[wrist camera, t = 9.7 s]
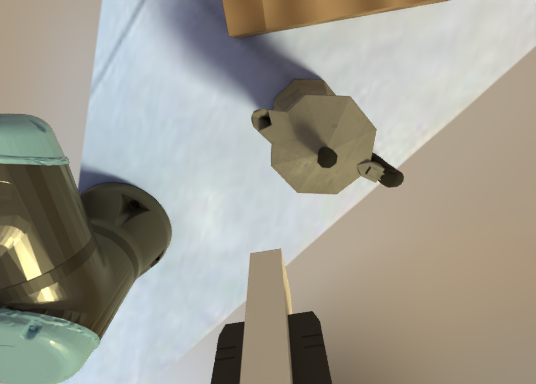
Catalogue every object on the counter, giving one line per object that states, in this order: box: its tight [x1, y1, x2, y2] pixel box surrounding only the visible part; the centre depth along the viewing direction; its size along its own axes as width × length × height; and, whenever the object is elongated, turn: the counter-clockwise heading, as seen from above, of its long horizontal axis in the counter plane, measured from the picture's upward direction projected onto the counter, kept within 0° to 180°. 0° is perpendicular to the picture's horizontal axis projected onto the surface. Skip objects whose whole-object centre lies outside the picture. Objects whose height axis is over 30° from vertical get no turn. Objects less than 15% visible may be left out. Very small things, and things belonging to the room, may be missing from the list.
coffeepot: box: [251, 79, 404, 194], centre depth 32 cm, size 15×9×18 cm, turn 66°
